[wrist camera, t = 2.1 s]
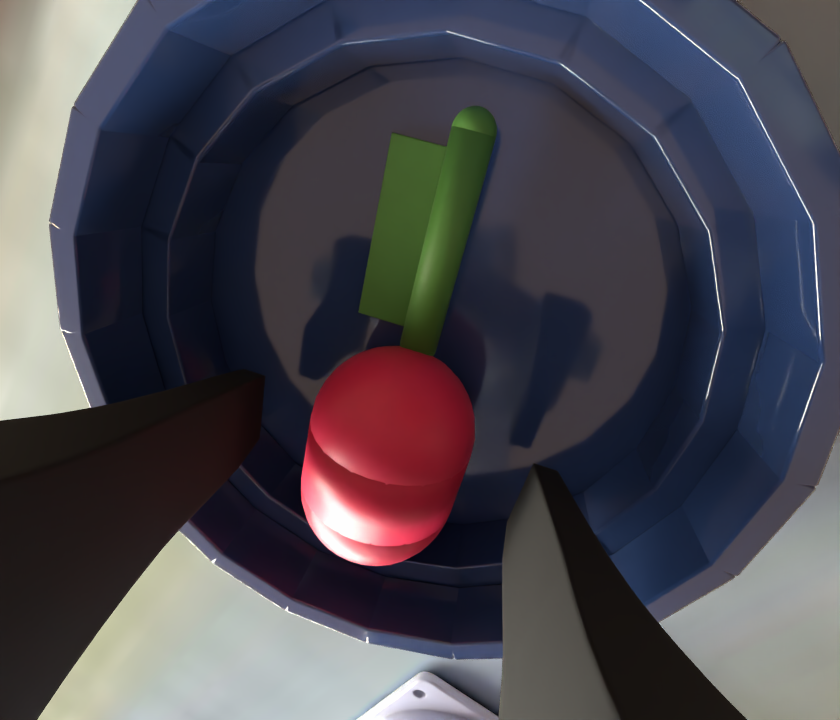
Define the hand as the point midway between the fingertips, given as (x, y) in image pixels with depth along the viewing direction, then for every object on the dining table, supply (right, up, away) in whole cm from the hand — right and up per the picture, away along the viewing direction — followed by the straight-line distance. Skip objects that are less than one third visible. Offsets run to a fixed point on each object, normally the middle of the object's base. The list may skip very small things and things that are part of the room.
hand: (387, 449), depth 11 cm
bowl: (+1, +3, +1) cm, 3 cm away
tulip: (+1, +3, +1) cm, 3 cm away
